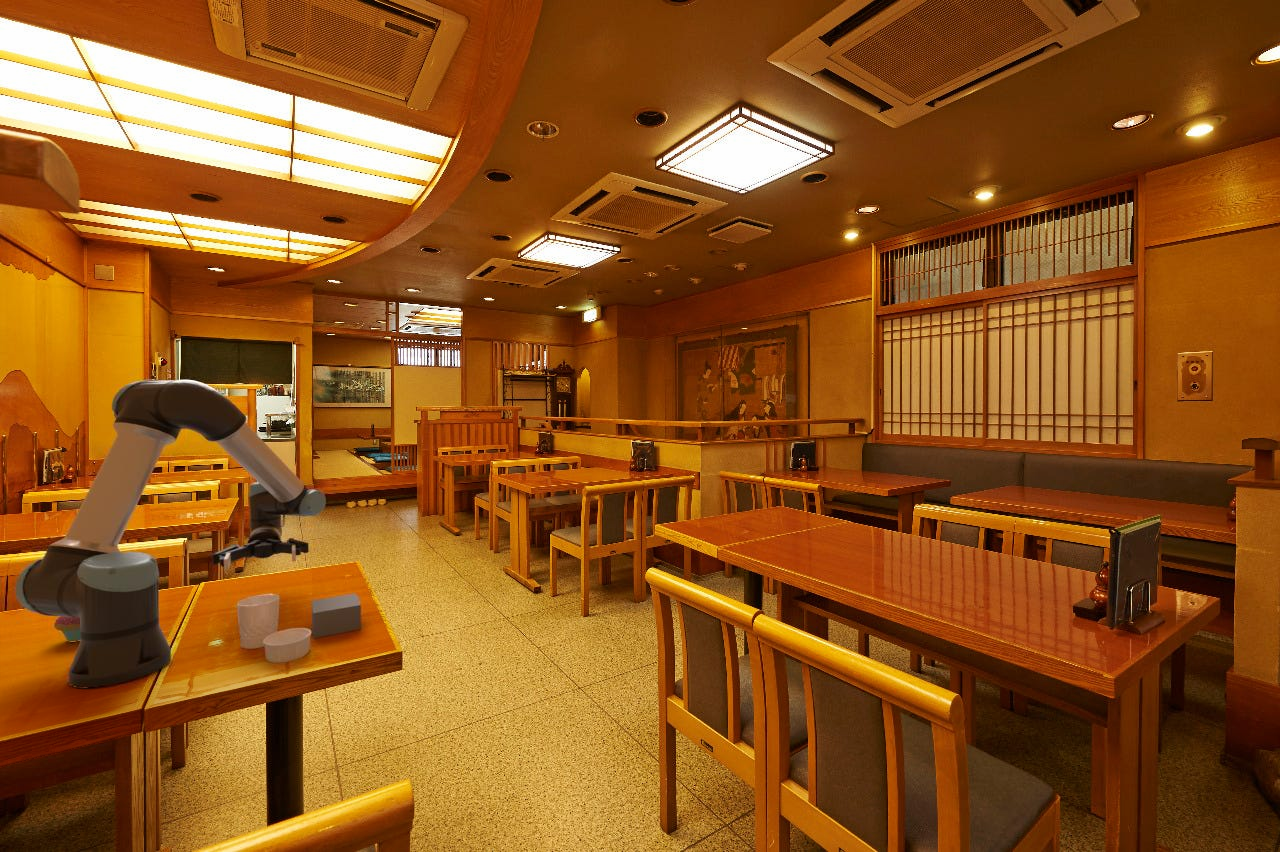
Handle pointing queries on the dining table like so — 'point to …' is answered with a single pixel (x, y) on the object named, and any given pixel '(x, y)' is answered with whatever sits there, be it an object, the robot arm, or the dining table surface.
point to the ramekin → (287, 645)
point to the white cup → (257, 619)
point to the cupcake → (69, 627)
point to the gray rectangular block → (336, 615)
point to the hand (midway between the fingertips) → (260, 560)
